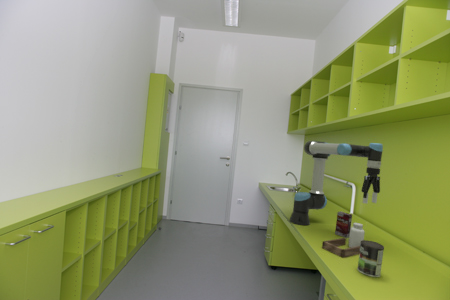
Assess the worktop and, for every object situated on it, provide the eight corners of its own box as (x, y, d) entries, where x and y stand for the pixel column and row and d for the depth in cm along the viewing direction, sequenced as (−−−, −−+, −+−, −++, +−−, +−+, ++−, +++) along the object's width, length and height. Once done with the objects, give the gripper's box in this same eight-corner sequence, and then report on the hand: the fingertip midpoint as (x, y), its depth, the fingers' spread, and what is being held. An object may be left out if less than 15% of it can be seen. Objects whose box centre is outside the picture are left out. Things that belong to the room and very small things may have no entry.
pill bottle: (354, 250, 161) (357, 225, 160) (345, 245, 169) (348, 221, 168) (365, 250, 163) (368, 226, 163) (355, 245, 171) (358, 221, 170)
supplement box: (334, 234, 190) (337, 211, 189) (338, 233, 193) (340, 211, 192) (346, 238, 183) (349, 215, 183) (350, 237, 186) (352, 214, 186)
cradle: (321, 247, 160) (322, 241, 160) (343, 243, 171) (343, 237, 171) (343, 257, 148) (343, 250, 148) (364, 252, 159) (365, 246, 159)
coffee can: (365, 276, 128) (368, 247, 127) (353, 266, 138) (356, 239, 137) (385, 278, 128) (389, 249, 128) (372, 267, 139) (375, 240, 138)
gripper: (369, 167, 161) (365, 205, 161) (388, 169, 172) (384, 203, 173) (357, 166, 167) (353, 202, 168) (377, 167, 179) (373, 200, 179)
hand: (369, 202), depth 170 cm, fingers open, 9 cm apart
